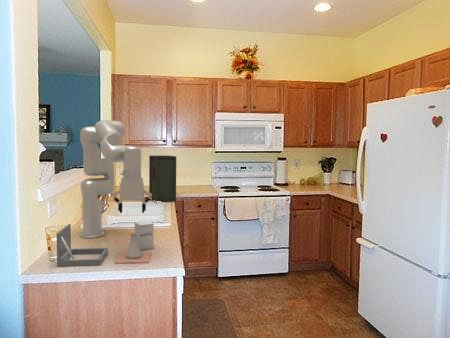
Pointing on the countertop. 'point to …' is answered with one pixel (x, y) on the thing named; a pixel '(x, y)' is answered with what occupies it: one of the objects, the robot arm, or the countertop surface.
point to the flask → (134, 248)
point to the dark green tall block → (162, 178)
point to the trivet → (124, 260)
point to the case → (75, 251)
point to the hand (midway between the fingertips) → (132, 212)
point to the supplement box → (144, 234)
